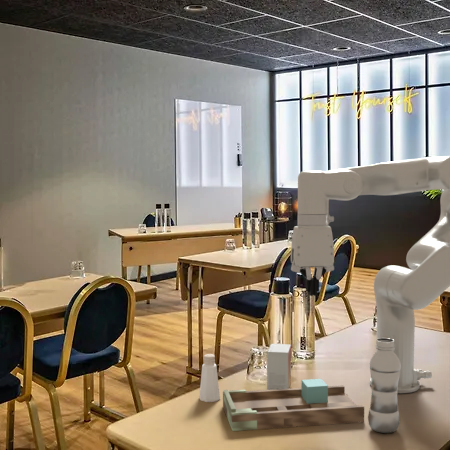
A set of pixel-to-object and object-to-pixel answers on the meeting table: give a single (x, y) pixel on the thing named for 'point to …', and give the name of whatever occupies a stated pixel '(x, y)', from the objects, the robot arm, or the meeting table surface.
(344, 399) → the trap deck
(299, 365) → the meeting table surface
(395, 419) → the plastic bottle
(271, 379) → the small box
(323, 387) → the block
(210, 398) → the salt shaker
